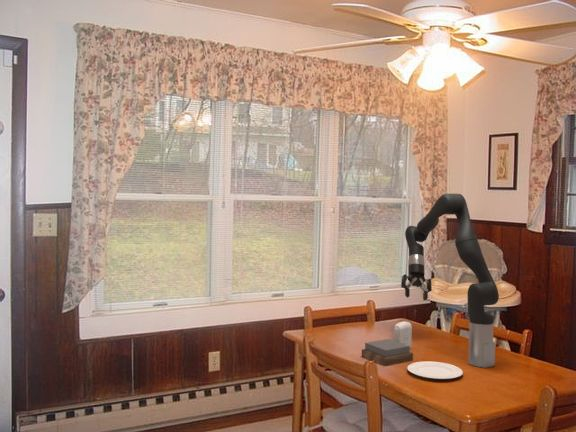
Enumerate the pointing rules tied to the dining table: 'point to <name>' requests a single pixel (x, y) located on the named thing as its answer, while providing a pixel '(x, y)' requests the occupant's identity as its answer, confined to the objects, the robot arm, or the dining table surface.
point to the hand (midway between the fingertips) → (416, 298)
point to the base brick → (387, 360)
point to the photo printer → (403, 333)
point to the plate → (435, 370)
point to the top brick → (387, 348)
